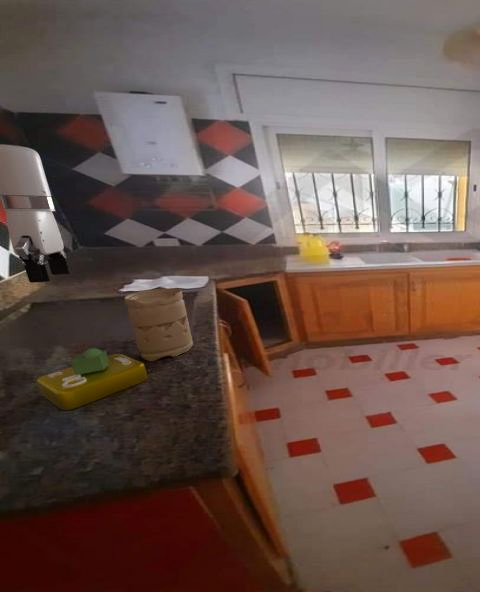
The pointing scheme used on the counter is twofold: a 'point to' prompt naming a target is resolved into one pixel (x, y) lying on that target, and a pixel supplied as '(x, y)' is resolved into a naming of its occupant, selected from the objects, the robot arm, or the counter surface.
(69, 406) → the element tile
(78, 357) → the toy
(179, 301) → the container
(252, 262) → the counter surface
